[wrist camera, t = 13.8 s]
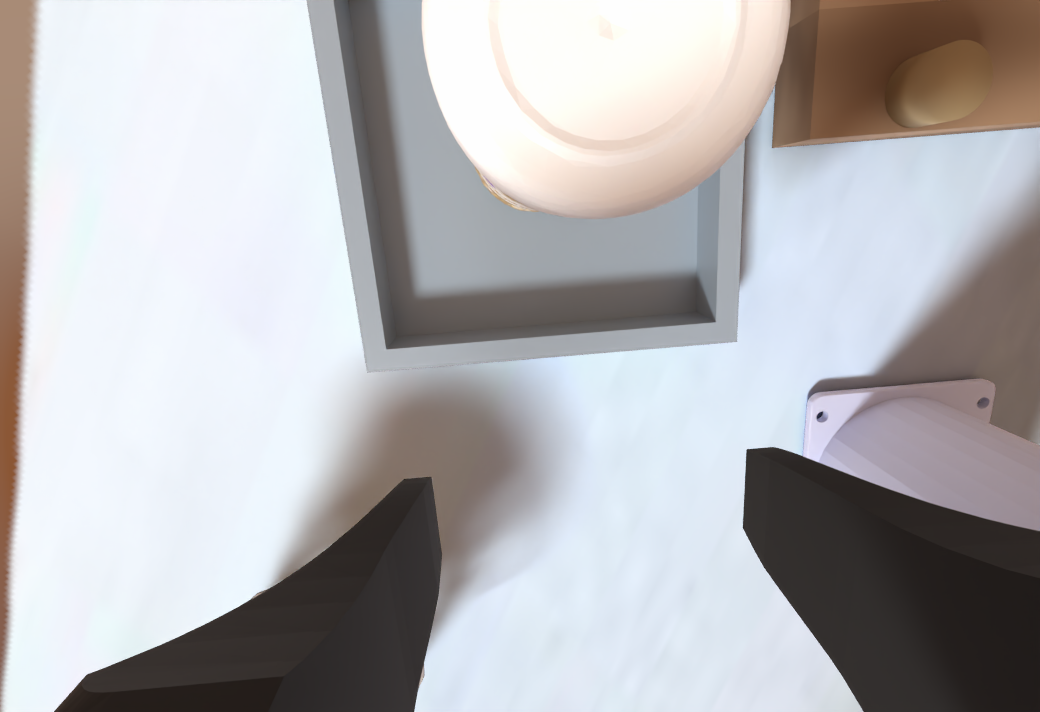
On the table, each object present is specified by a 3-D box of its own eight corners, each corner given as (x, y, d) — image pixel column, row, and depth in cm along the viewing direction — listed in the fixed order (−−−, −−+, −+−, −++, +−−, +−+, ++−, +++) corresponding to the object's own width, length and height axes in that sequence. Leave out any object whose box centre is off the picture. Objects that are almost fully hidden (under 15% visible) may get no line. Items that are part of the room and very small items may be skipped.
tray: (710, 327, 22) (737, 341, 19) (382, 354, 21) (367, 372, 19) (720, -59, 18) (754, -101, 15) (323, -31, 18) (295, -69, 15)
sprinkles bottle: (446, 142, 19) (328, -10, 6) (541, 49, 18) (649, -354, 5) (529, 239, 20) (585, 293, 7) (622, 155, 19) (881, 40, 6)
